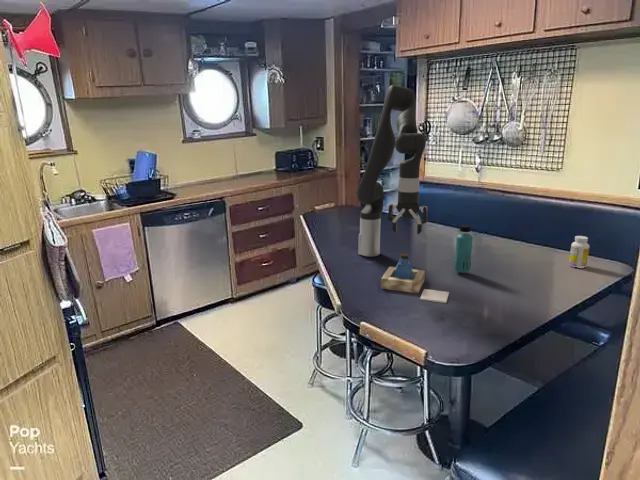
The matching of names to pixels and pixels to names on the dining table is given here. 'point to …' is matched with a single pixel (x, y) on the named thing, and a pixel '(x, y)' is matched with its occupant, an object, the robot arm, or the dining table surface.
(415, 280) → the pocket block
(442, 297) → the coaster
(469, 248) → the beverage bottle
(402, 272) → the perfume bottle
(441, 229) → the dining table surface
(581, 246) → the supplement bottle
